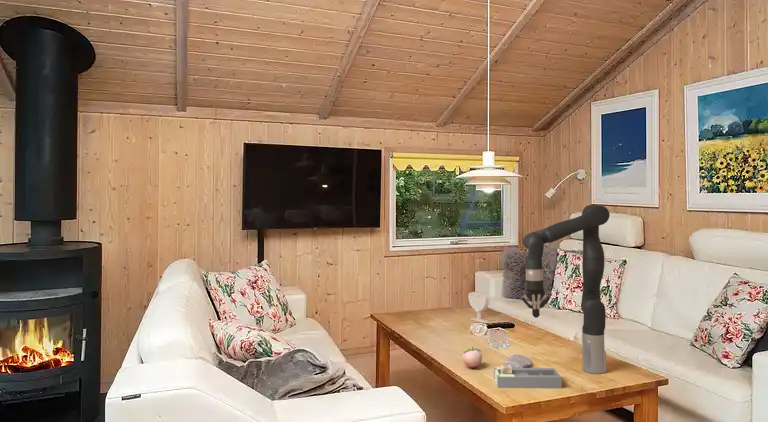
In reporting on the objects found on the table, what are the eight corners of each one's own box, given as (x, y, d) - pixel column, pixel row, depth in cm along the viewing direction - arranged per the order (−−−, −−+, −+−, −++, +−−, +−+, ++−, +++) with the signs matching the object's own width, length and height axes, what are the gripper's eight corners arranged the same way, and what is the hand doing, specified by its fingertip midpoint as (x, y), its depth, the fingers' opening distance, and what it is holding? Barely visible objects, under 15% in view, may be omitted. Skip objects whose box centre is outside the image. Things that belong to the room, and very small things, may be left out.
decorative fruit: (469, 372, 229) (469, 350, 229) (459, 367, 237) (459, 346, 236) (486, 369, 233) (486, 348, 233) (476, 364, 240) (476, 343, 240)
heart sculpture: (467, 318, 330) (467, 291, 330) (473, 317, 333) (472, 290, 333) (485, 323, 318) (484, 294, 317) (490, 321, 320) (490, 293, 320)
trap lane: (554, 378, 220) (554, 367, 220) (561, 388, 208) (561, 376, 208) (494, 377, 222) (494, 367, 222) (498, 387, 210) (497, 376, 210)
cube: (510, 374, 218) (510, 364, 217) (511, 377, 214) (511, 368, 213) (500, 374, 218) (500, 364, 218) (502, 377, 214) (502, 368, 214)
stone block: (532, 368, 238) (513, 360, 244) (534, 359, 238) (514, 351, 244) (522, 376, 229) (502, 368, 235) (524, 367, 228) (504, 358, 234)
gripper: (547, 276, 228) (548, 314, 228) (517, 277, 228) (519, 315, 229) (551, 279, 220) (553, 318, 220) (521, 280, 221) (522, 319, 221)
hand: (536, 317), depth 225 cm, fingers closed
